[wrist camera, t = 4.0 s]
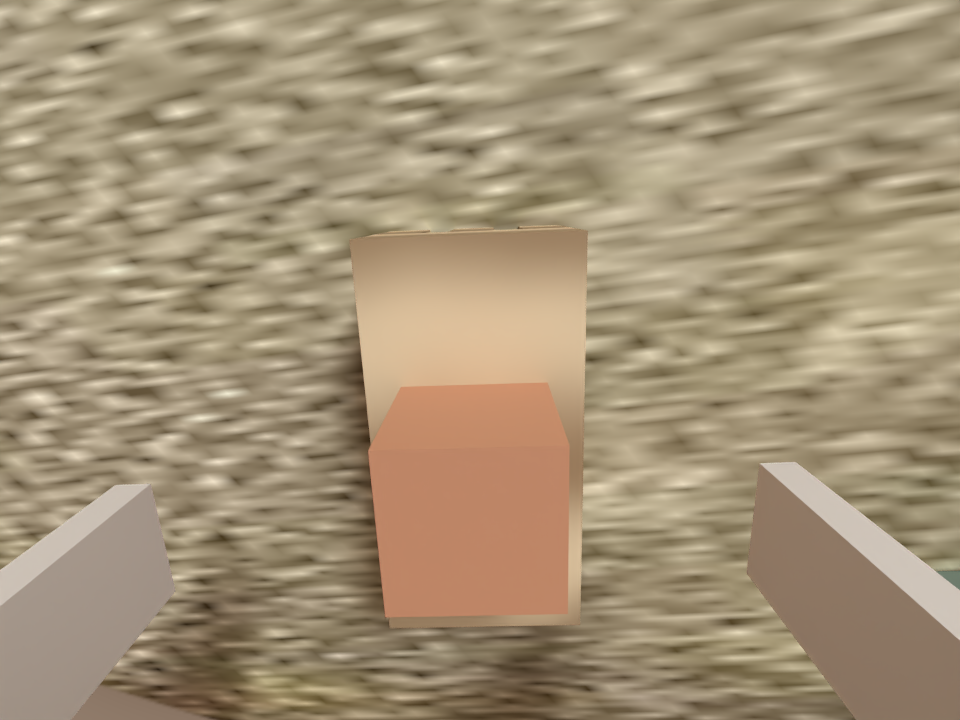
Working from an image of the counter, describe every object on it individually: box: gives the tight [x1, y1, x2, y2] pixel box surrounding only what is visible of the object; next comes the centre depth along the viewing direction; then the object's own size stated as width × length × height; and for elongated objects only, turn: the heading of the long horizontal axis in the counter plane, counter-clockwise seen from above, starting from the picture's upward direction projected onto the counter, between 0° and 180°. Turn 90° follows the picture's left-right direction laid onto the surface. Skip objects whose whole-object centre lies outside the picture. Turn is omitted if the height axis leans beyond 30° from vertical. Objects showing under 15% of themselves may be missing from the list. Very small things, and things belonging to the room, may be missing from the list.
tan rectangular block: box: [350, 225, 588, 628], centre depth 18 cm, size 12×6×6 cm, turn 2°
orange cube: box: [368, 382, 570, 617], centre depth 13 cm, size 4×4×4 cm
